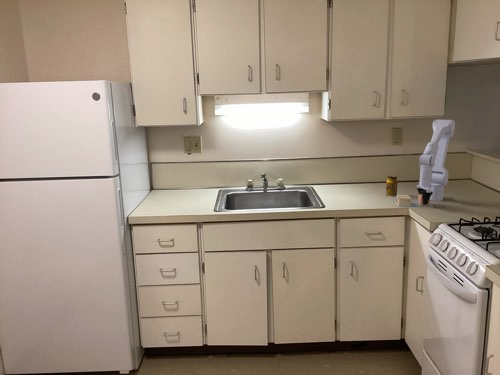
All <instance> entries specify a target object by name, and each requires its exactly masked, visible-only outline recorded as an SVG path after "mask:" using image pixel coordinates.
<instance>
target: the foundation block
mask: <svg viewBox="0 0 500 375" xmlns="http://www.w3.org/2000/svg"><path fill="white" fill-rule="evenodd" d="M395 201H396V203H397V204H398V205H411V201H412V197H411V196H410V195H407V194H406V195H405V194H403V195H402V194H401V195H399V194H397V196H396V200H395Z"/></svg>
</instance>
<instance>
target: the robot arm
mask: <svg viewBox="0 0 500 375" xmlns="http://www.w3.org/2000/svg"><path fill="white" fill-rule="evenodd" d="M455 129H456V122H455V120H454V119H435V120H433V122H432V131H433V134H432V137H431V140H430V142H428V143H427V145H426V147H425V149H424V151H423V153H422V154H420V156H419V159H418V164H419V169H420V171H419V181H418V182H419V183H418V185H417V184H416V187H417V188H416V190H417V192H418V195H419V194H422V200H423V204H428V202H429V199H430V201H435V202H436V201H437V202H440V201H444V200H443V199H444V189H445V186H447V184H448V182H449V171H448V170H447V168H445V166H446V164H445V163H446V159H447V152H448V147H449V142H450V139H451V138H452V137H453V136H454V135H455V134H454V133H455Z"/></svg>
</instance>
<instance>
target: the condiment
mask: <svg viewBox="0 0 500 375" xmlns="http://www.w3.org/2000/svg"><path fill="white" fill-rule="evenodd" d="M385 184H386V185H385V187H386V188H385V196H388V197H397V195H398V176H397V175H387V179H386V183H385Z"/></svg>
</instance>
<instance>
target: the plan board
mask: <svg viewBox="0 0 500 375" xmlns="http://www.w3.org/2000/svg"><path fill="white" fill-rule="evenodd" d="M392 202H393V203H394V204H395V205H396V206H397V207H398V208H435V206H434V205H433V204H431V203H430V206H420V205H419V204H418V200H414V201H412V200H411V205H398V204H397V203H396V200H392Z"/></svg>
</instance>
